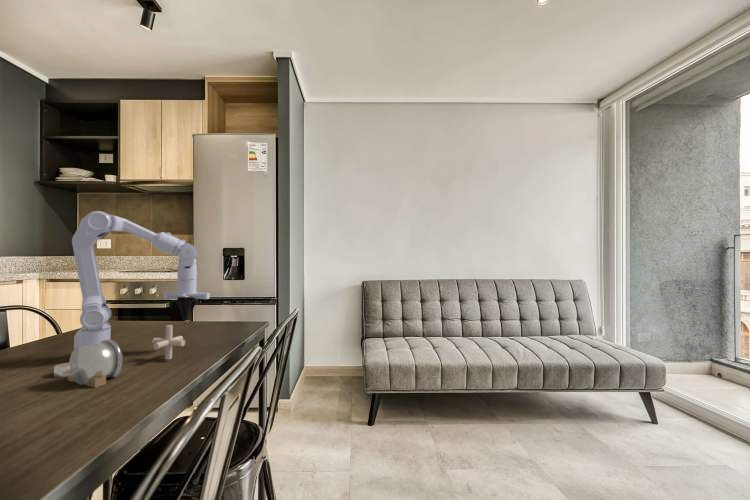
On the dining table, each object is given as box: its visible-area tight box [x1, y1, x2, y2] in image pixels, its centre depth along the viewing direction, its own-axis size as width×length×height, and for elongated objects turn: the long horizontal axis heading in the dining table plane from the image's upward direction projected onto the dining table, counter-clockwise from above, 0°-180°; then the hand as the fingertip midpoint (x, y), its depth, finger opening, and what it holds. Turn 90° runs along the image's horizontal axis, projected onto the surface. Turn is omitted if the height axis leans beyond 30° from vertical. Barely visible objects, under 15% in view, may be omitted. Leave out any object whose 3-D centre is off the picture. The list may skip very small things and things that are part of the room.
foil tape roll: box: [53, 362, 70, 378], centre depth 96 cm, size 5×5×2 cm
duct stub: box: [67, 339, 124, 388], centre depth 92 cm, size 11×7×10 cm, turn 67°
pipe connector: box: [151, 324, 186, 361], centre depth 111 cm, size 10×10×10 cm
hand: (186, 320), depth 122 cm, fingers closed
